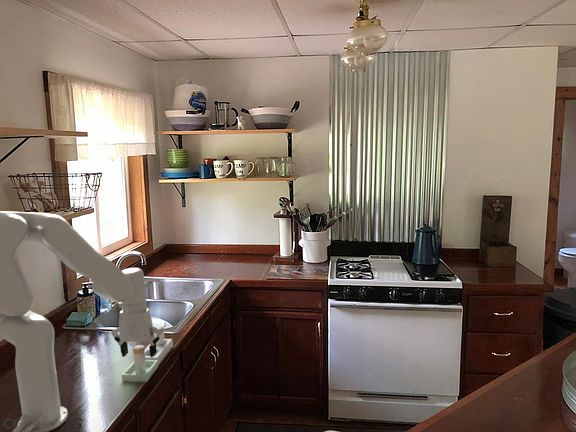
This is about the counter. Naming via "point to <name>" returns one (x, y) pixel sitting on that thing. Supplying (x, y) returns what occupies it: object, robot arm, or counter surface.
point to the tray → (132, 377)
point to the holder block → (159, 351)
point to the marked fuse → (139, 359)
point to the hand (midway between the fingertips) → (139, 355)
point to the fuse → (162, 340)
